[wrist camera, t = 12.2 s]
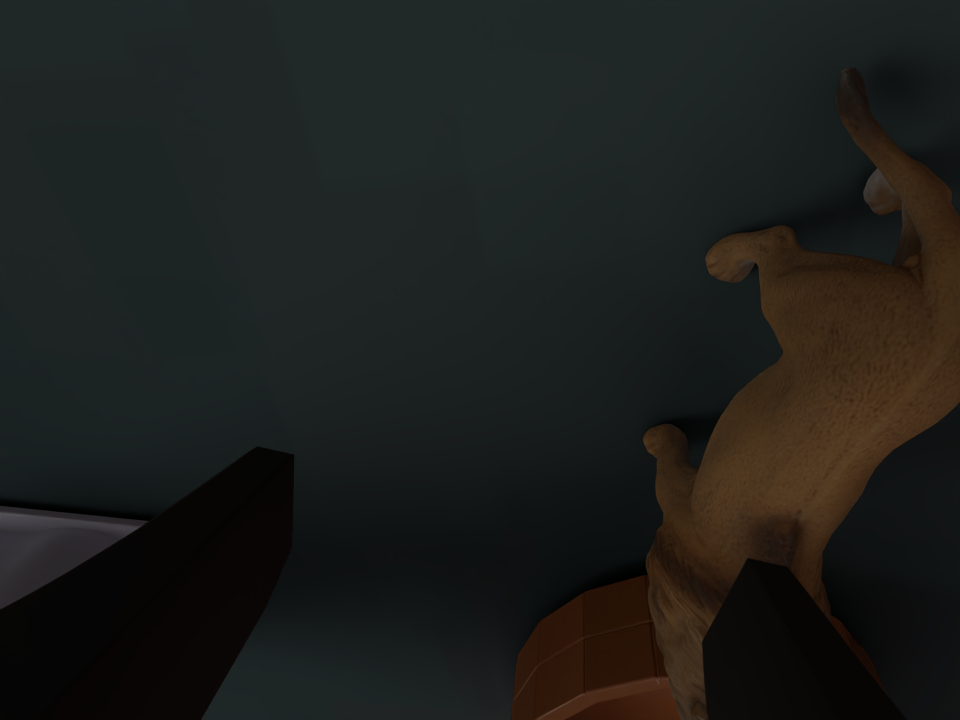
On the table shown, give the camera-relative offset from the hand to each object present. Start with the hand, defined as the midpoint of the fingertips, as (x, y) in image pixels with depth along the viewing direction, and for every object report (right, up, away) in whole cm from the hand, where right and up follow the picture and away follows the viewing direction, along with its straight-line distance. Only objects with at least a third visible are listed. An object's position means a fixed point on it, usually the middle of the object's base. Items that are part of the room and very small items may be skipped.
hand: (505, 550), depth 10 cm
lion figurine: (+8, +3, +8) cm, 12 cm away
